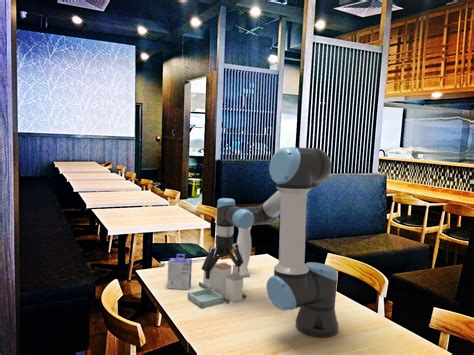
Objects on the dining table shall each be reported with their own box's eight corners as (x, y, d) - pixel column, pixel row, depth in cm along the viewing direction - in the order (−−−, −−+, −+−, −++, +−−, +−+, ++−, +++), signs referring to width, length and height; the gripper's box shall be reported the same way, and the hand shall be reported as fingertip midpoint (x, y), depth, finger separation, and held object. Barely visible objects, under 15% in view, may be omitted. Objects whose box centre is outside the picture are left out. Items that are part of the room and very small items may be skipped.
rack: (246, 298, 170) (247, 275, 169) (227, 303, 164) (228, 280, 163) (216, 281, 187) (217, 260, 186) (198, 285, 181) (199, 264, 180)
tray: (223, 302, 165) (223, 296, 164) (201, 308, 158) (201, 302, 158) (209, 293, 173) (209, 287, 173) (187, 298, 167) (187, 292, 166)
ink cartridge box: (191, 285, 181) (192, 253, 180) (189, 290, 176) (190, 257, 174) (169, 284, 181) (170, 252, 180) (166, 288, 176) (167, 256, 174)
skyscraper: (231, 271, 201) (234, 216, 198) (246, 270, 204) (249, 215, 200) (236, 277, 193) (239, 219, 190) (252, 276, 196) (255, 219, 192)
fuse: (230, 292, 175) (231, 265, 174) (220, 295, 172) (221, 267, 171) (223, 288, 179) (224, 262, 178) (213, 291, 176) (215, 264, 174)
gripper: (242, 229, 183) (239, 275, 186) (194, 236, 168) (192, 285, 170) (252, 233, 177) (250, 280, 180) (204, 240, 162) (202, 291, 164)
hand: (222, 283), depth 175 cm, fingers open, 13 cm apart
